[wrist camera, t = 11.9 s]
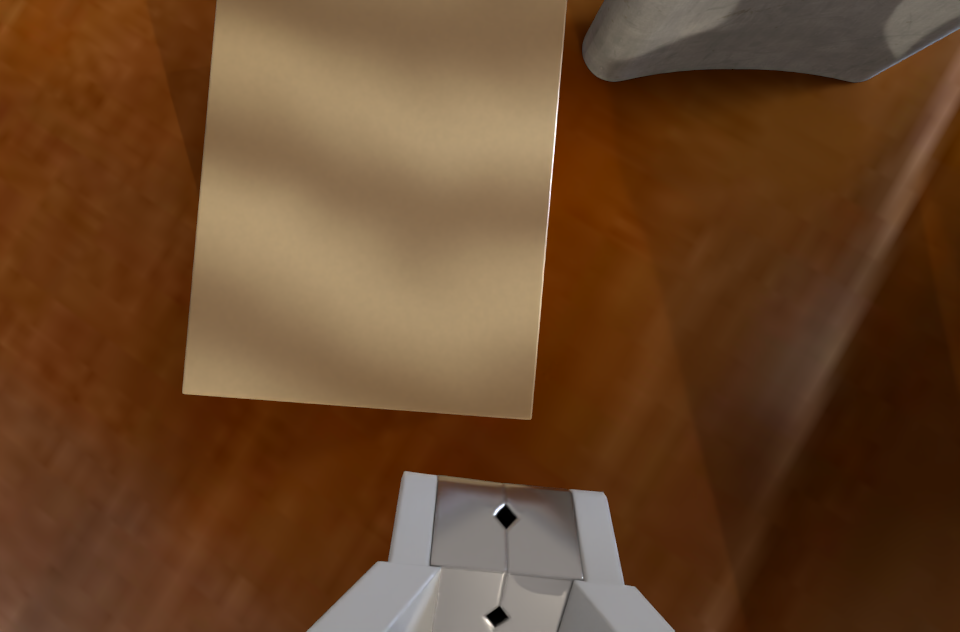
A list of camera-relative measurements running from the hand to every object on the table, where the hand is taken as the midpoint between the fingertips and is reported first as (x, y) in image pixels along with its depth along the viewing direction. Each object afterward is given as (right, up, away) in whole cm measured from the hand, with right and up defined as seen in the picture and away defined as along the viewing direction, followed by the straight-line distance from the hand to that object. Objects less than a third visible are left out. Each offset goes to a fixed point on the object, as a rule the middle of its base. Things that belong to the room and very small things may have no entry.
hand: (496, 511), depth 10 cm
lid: (-4, +8, +15) cm, 17 cm away
